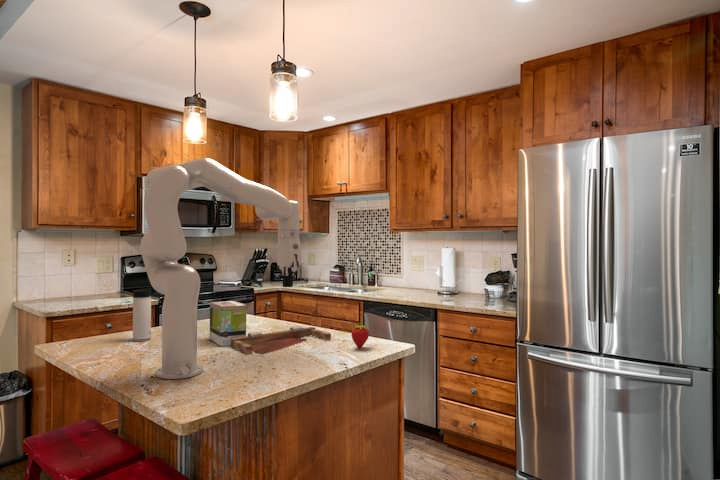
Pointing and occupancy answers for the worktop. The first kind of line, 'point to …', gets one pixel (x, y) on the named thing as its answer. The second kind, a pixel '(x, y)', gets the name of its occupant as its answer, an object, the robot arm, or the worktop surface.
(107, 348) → the worktop surface
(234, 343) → the hinge frame
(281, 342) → the wooden tablet
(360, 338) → the strawberry
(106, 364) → the worktop surface
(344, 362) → the worktop surface
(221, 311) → the tea box
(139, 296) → the travel mug
